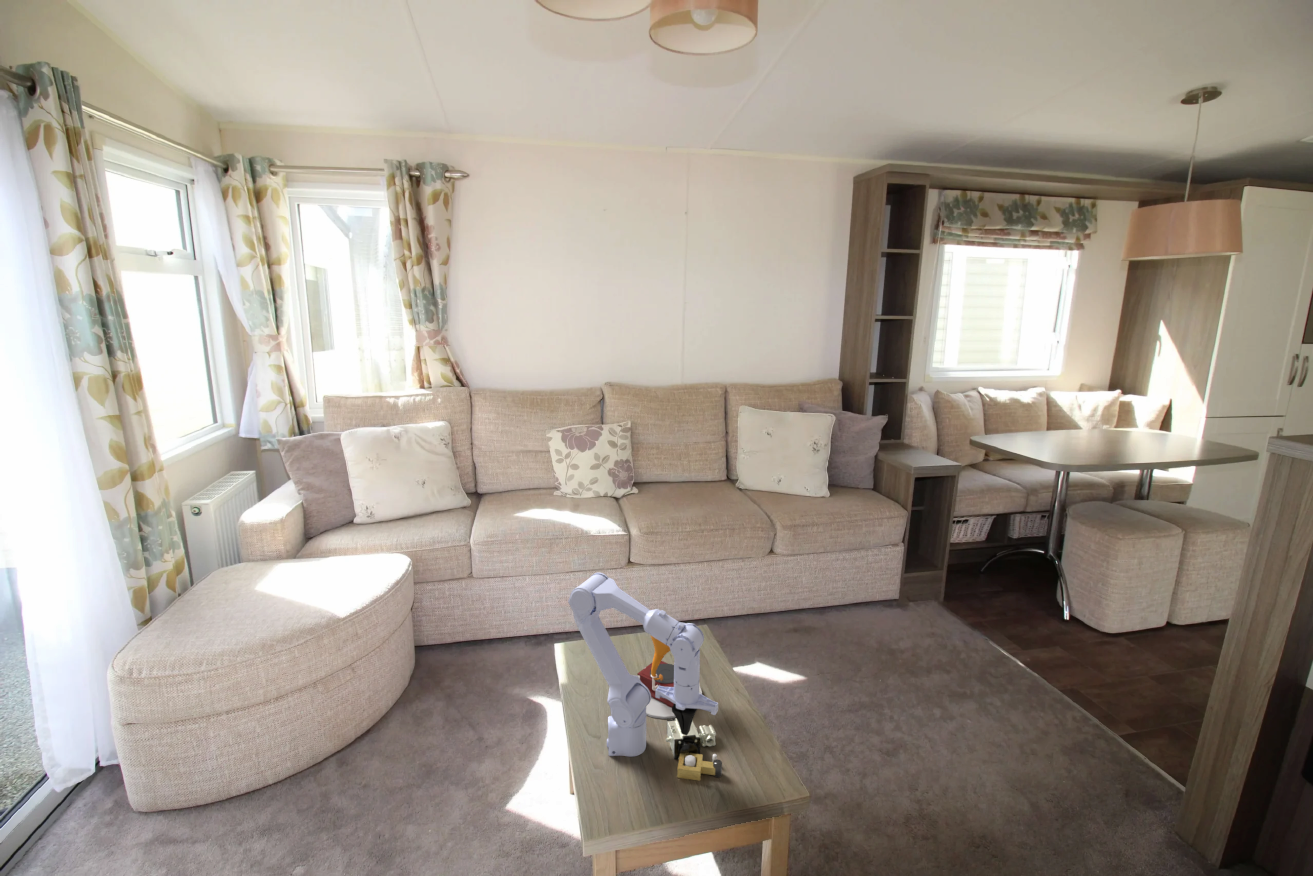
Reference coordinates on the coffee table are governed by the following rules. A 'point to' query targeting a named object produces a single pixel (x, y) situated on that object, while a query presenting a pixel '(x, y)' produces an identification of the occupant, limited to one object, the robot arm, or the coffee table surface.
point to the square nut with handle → (698, 767)
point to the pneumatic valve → (688, 738)
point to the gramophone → (659, 682)
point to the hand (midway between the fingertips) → (685, 731)
